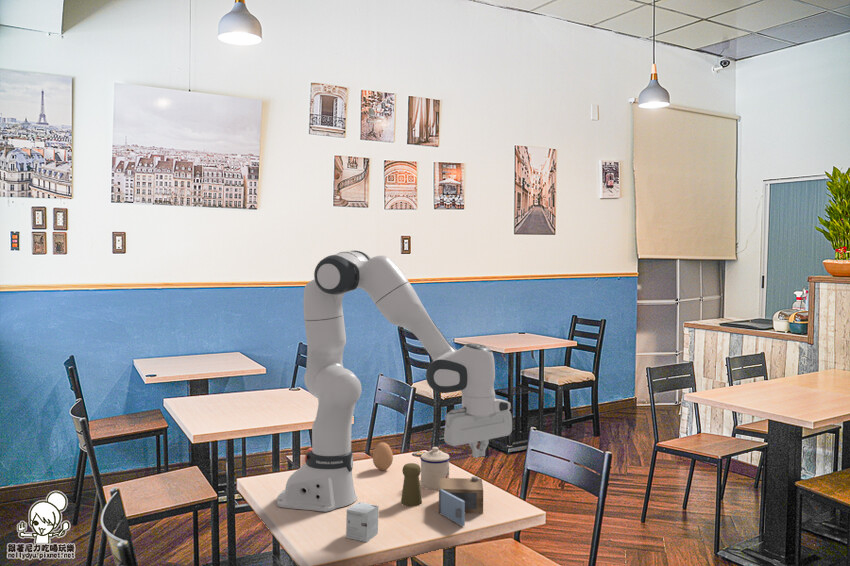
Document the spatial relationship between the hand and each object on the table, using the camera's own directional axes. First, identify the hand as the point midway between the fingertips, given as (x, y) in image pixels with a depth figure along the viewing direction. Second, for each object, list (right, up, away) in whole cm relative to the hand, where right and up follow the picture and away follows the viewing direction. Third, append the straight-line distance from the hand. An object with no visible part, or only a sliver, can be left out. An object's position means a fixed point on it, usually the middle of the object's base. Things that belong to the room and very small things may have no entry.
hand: (478, 456), depth 176 cm
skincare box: (-30, -17, -10) cm, 36 cm away
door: (-8, -16, 0) cm, 18 cm away
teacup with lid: (-12, -16, +28) cm, 34 cm away
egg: (-28, -15, +41) cm, 52 cm away
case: (-4, -16, +9) cm, 19 cm away
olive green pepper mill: (-18, -17, +12) cm, 27 cm away
